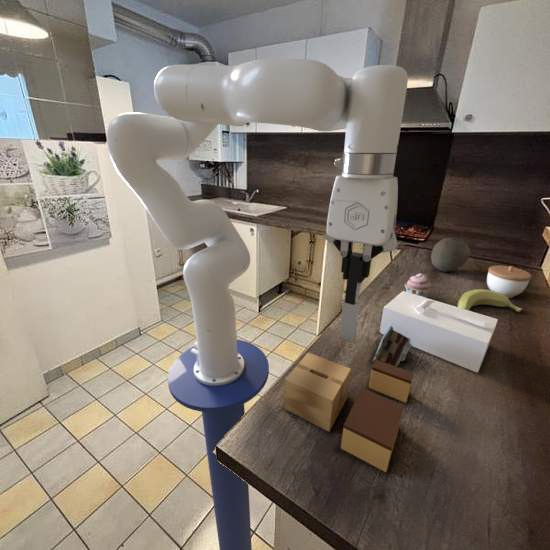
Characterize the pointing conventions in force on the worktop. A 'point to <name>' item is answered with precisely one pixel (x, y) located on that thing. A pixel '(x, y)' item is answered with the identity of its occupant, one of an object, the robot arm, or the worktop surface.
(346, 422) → the loaf cake
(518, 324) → the worktop surface
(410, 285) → the cupcake
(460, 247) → the cantaloupe
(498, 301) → the banana
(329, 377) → the knife block
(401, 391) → the cake slice
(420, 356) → the worktop surface
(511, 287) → the lidded bowl
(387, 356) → the chocolate cake
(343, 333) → the knife
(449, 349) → the tissue box
